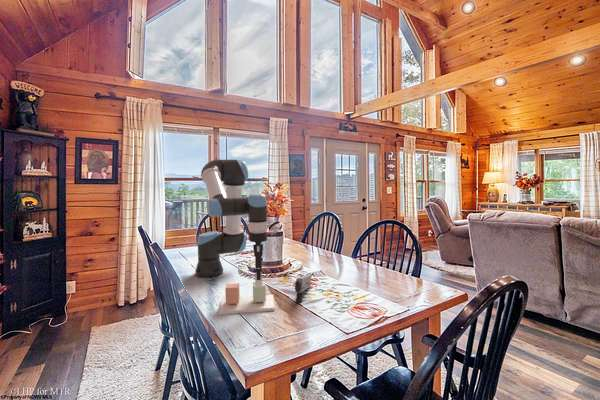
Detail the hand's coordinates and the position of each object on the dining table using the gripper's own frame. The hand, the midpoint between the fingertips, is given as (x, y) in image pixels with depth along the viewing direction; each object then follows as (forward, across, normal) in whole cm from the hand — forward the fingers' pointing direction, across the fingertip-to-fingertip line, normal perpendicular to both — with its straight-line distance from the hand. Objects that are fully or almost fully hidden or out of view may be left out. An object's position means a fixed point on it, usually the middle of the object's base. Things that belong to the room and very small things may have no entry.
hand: (258, 281), depth 126 cm
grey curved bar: (+10, -8, +20) cm, 24 cm away
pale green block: (+8, +1, 0) cm, 8 cm away
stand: (+10, +1, -5) cm, 11 cm away
